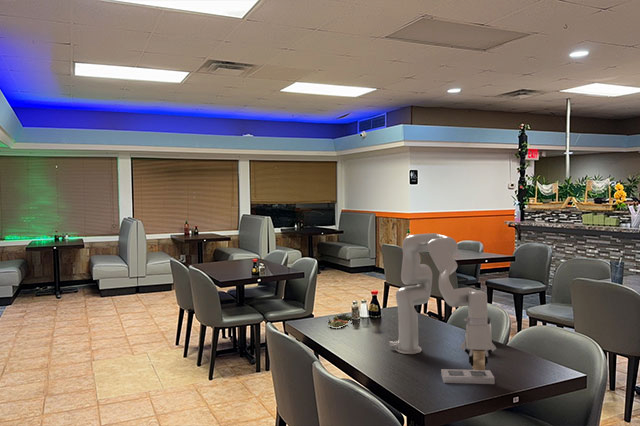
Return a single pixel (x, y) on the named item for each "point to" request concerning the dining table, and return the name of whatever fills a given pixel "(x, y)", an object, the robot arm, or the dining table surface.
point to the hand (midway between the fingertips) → (478, 364)
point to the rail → (467, 376)
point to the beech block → (478, 360)
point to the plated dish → (340, 320)
